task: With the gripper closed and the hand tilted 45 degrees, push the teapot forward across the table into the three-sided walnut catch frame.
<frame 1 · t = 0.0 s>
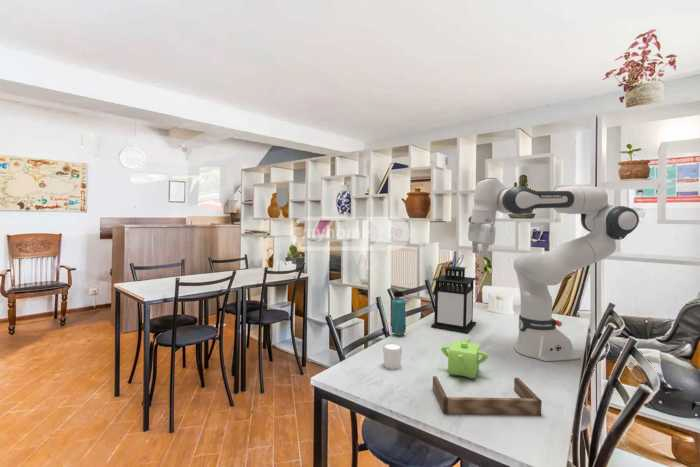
hand: (478, 254, 142), 39 cm above the table, tool pointing down, fingers open, 8 cm apart
lantern: (453, 326, 177), on the table
teapot: (463, 373, 124), on the table
beverage bottle: (398, 335, 162), on the table
catch frame: (483, 401, 105), on the table
white cylinder: (392, 366, 130), on the table
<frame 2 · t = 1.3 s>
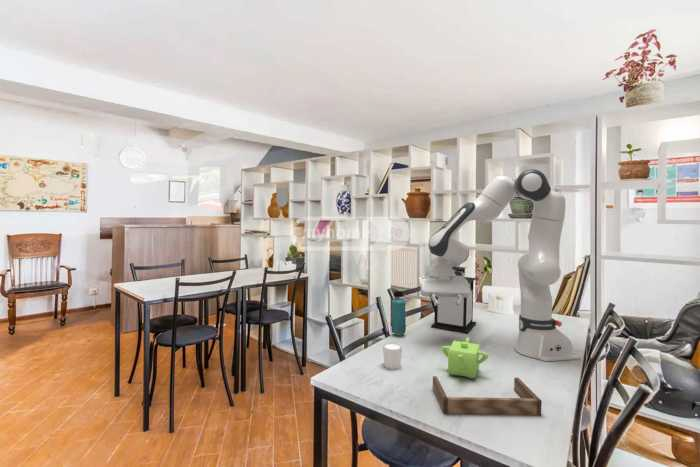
hand: (447, 305, 145), 18 cm above the table, tool tilted 45°, fingers open, 7 cm apart
nothing on the table moved.
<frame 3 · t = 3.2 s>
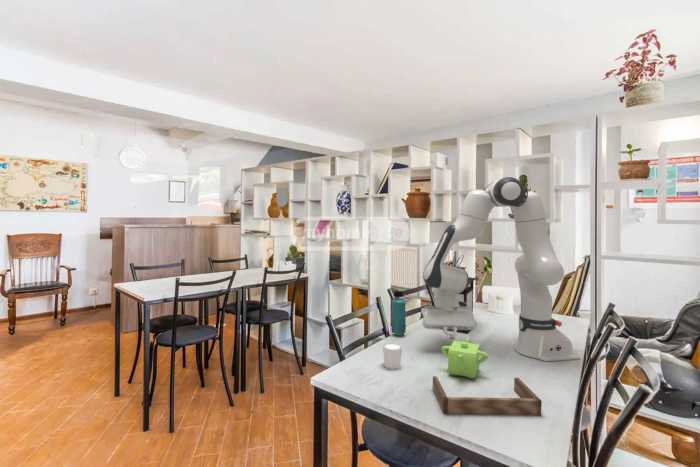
hand: (451, 338, 138), 7 cm above the table, tool tilted 45°, fingers closed
nothing on the table moved.
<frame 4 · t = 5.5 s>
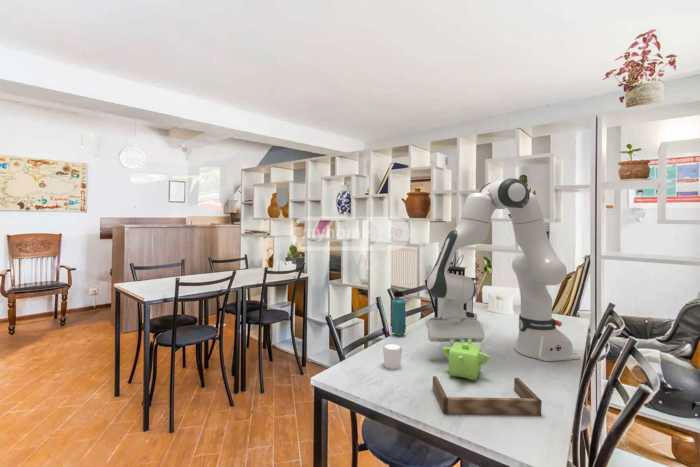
hand: (458, 352, 130), 5 cm above the table, tool tilted 45°, fingers closed
teapot: (464, 375, 123), on the table, touching gripper
everything else where it was.
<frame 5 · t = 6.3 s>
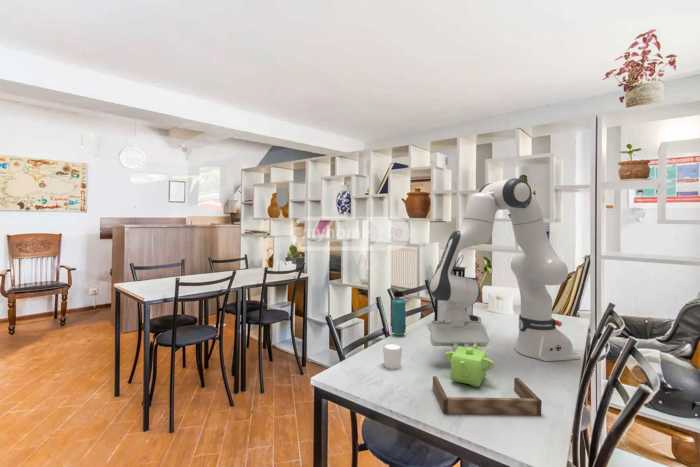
hand: (462, 357, 125), 5 cm above the table, tool tilted 45°, fingers closed
teapot: (468, 380, 118), on the table, touching gripper
everything else where it was.
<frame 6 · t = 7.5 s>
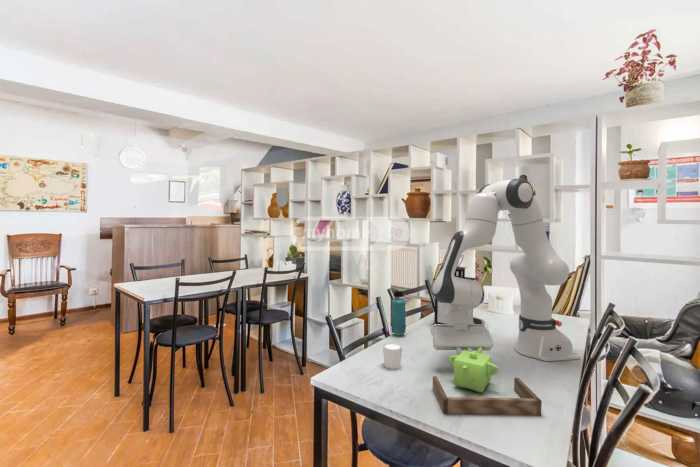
hand: (466, 361, 121), 5 cm above the table, tool tilted 45°, fingers closed
teapot: (472, 386, 115), on the table, touching gripper
everything else where it was.
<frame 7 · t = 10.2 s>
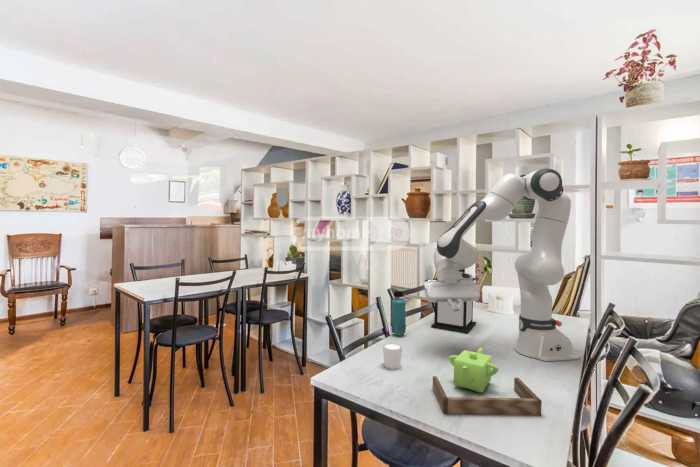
hand: (456, 310, 136), 18 cm above the table, tool tilted 45°, fingers closed
teapot: (472, 386, 115), on the table
everything else where it was.
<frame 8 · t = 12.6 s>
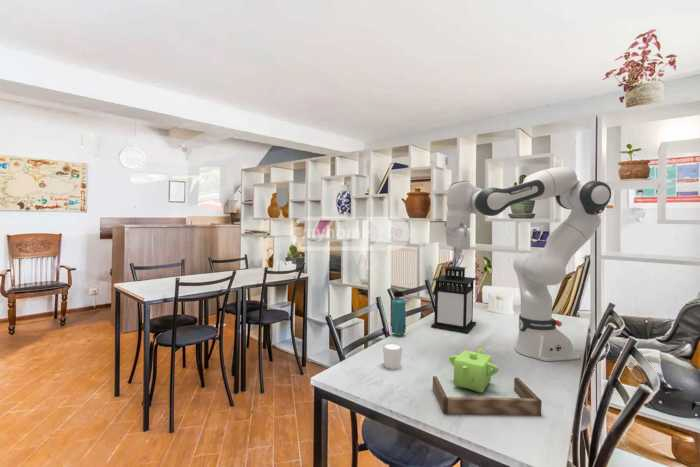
hand: (457, 259, 140), 37 cm above the table, tool pointing down, fingers closed
nothing on the table moved.
at the end: teapot inside the target area (7.2 cm from its centre), on the table; teapot tilted 0°; teapot moved 9.3 cm from its start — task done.
